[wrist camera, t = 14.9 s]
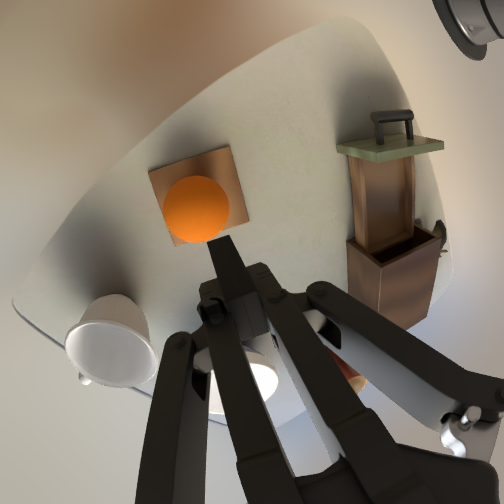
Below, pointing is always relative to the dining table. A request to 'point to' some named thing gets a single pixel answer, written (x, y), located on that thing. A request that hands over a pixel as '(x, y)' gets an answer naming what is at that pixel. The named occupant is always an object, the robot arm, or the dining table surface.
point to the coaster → (208, 165)
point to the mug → (349, 373)
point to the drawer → (385, 181)
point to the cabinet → (396, 277)
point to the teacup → (112, 344)
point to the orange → (196, 209)
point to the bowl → (262, 374)
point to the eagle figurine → (438, 232)
